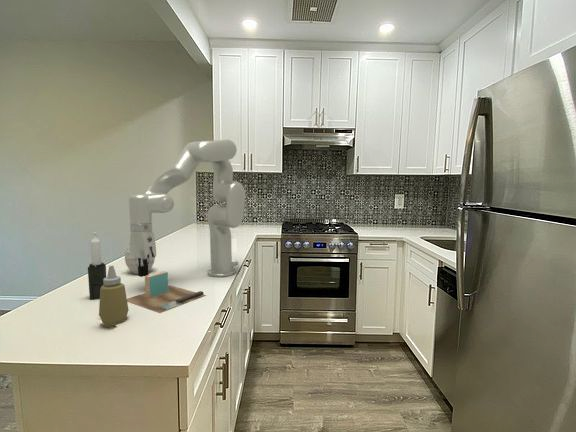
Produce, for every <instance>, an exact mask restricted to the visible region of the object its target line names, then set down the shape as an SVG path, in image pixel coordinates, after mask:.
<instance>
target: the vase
mask: <svg viewBox="0 0 576 432" xmlns="http://www.w3.org/2000/svg"><path fill="white" fill-rule="evenodd" d="M152 258H153V262H149V265H148V272H150V270H151V269H152V267H153V265H154V263H155V259H156V257H152ZM124 262H125V265H126V267H127V268H128V270H129V271H130V272H131V273H133V274H134V275H138V266H137V262H136V260H135V259H133V256H132V255H131V253H130V243H129V244H128V245H127V246H126V249H125V252H124Z"/></svg>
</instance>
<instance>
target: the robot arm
mask: <svg viewBox="0 0 576 432" xmlns="http://www.w3.org/2000/svg"><path fill="white" fill-rule="evenodd" d="M237 151H238V150H237V146H236V144H235V142H234V141H233V140H230V139H219V140H218V139H217V140H202V141H201V140H200V141H191V142H188V143H187V144H186V145H184V147H183V149H182V150H181V152H180V153H179V154H178V155H177V157H176V158H175V160H174V161H173V162H172V164H171V165H170V167H169V168H168V169H167V170H165V171H164V172H162V174H161V175H159V176H158V177H157V178H156V179H155V180H154V181H153V182H152V183H151V184H150V185H149V187H148V188H147V189H146V191H145V192H144V193H142V194H138V193H137V194H131V195H130V196H129V198H128V208H129V227H130V231H129V232H130V236H129V244H130V253H131V255H132V256H133V259H135V260H136V262H137V266H138V274H137V275H138V277H140V278H142V277H143V278H144V277H145V276H148V275H149V271H148V265H149V262H153V258H152V257H155V258H156V257H157V246H156V239H155V234H154V231H153V217H152V214H154V213H156V214H157V213H158V214H166V213H169V212H171V211H172V210H173V209H174V206H175V199H173V197H172V196H171V195H169V192H170V191H171V190H173V189H175V188H176V187H178V186H180V185H182V184H185V183H187V182H188V181H189V180H190V178H191V176H192V175H193V174H194V172H195V171H196V169H197V168H198V166H200V164H201V163H210V164H211V165H212V168H213V182H212V197H213V199H214V200H215V201H216V202H220V203H226V204H214V205H213V206H211V207H209V209H208V211H207V215H206V217H207V222H208V227H209V242H210V243H209V246H210V247H209V248H210V269H208V270H207V275H208V276H211V277H216V278H218V277H220V278H222V277H229V276H233V275H234V274H235V273H236V269H235V268H234V267H236V266H238V265H239V262H238V261H234V262H233V260H232V256H233V255H232V251H233V250H232V231H231V229H230V228H232V229H233V228H234V229H235V228H237V227H239V226H241V224H242V222H243V219H244V215H245V214H244V212H245V201H246V191H245V188H244V185H243V184H242V183H241V182H239V181H236V180H233V178H234V177H233V176H234V171H233V169H234V168H233V165H232V163H231V160H232V159H233V158H235V157H236V155H237Z"/></svg>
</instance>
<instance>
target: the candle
mask: <svg viewBox="0 0 576 432" xmlns="http://www.w3.org/2000/svg"><path fill="white" fill-rule="evenodd" d="M97 236H98V235H97V232H96V231H94V232H93V235H92V239H91V240H90V252H91V254H90V255H91V263H90V264H89V265H88V267H87V277H88V278H87V280H88V291H89V300H91V301H95V300H100V288H101V287H102V286H103V285H104V283H103V279H104V278H106V277H107V266H106V265H107V264H106V263H104V262H102V255H101V253H102V252H101V241H100V239H99V238H98V237H97Z"/></svg>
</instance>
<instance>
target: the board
mask: <svg viewBox="0 0 576 432" xmlns="http://www.w3.org/2000/svg"><path fill="white" fill-rule="evenodd" d="M168 289H169V293H167V294H164V295H161V296H158V297H155V298H152V299H148V298H146V292H144V293H142V294H138V295H135V296H131V297H129V298H127V303H129V304H132V305H134V306H137V307H141V308H144V309H147V310H149V311H153V312H155V313H157V314H162V313H164V312H167V311H170V310H173V309H175V308H178V307H181V306H183V305H185V304H188V303H190V302H194V301H196V300H198V299H202V298H205V297H207V294H204V293H203V295H201V296H198V297H195V298H193V299H190V300H187V301H185V302H182V303H181V304H182V305H179V306H176V307H174V308H171V309H169V310H166V309H163V308H160V307H159V306H161V305H164V304H167V303H170V302H173V301H175V302H176V300H177V299H180V298H183V297H185V296H188V295H191V294H194V293H196V291H193V290H189V289H184V288H181V287H177V286H174V285H171V284H170V285H169V284H168Z"/></svg>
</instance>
